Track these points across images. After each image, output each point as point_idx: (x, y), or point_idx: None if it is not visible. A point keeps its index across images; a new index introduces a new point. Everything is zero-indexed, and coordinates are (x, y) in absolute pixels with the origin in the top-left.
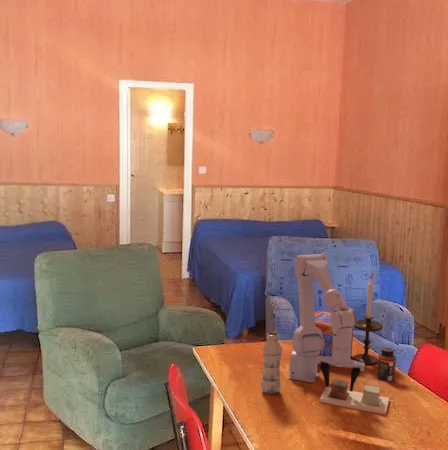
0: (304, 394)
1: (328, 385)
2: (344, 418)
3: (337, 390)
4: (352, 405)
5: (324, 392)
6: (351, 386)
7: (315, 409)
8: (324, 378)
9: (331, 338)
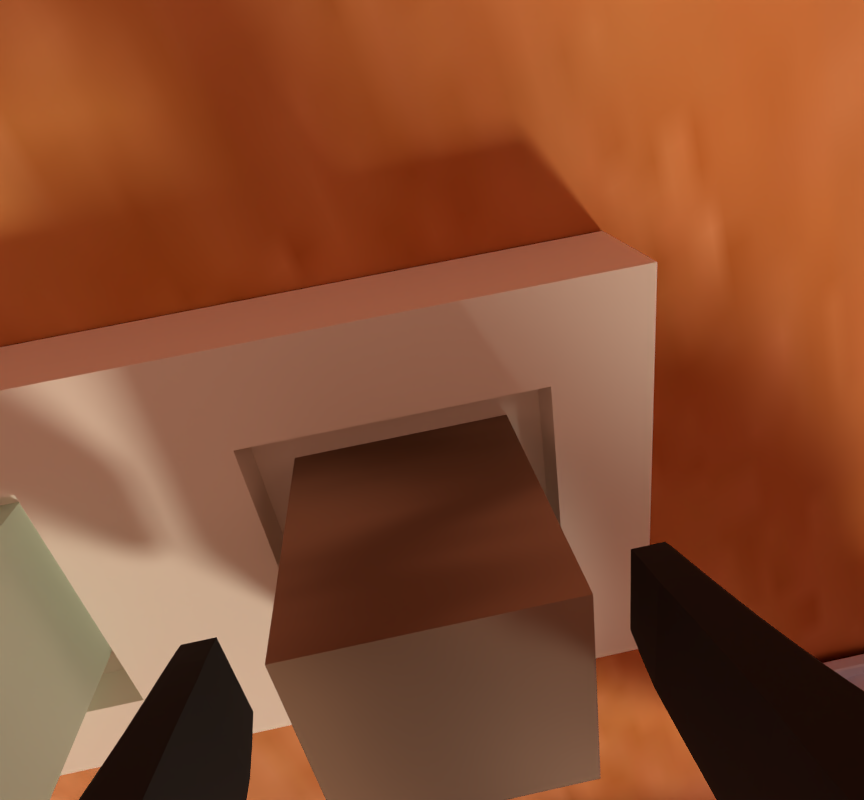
0: (839, 421)
1: (632, 602)
2: (92, 37)
3: (428, 543)
4: (74, 370)
5: (633, 493)
6: (144, 735)
7: (633, 75)
8: (818, 662)
9: None
